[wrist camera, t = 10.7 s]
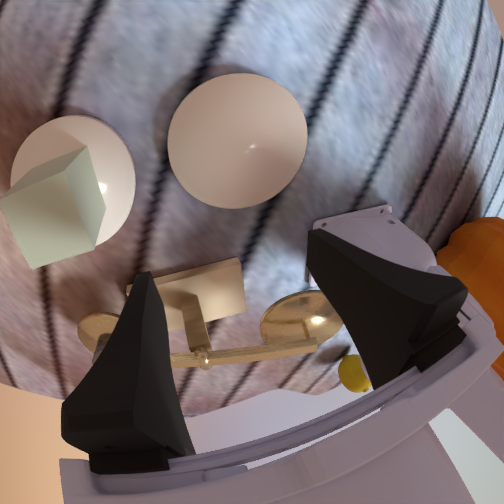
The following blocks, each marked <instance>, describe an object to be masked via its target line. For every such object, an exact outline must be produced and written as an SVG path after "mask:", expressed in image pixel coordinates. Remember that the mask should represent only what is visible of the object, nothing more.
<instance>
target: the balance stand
mask: <svg viewBox="0 0 504 504" xmlns="http://www.w3.org/2000/svg"><path fill="white" fill-rule="evenodd" d="M153 280H154V282H155V285H156V287H157V289H158V292H159V294H160V297H161V299H162V301H163V304H164V309H165V314H166V319H167V326H168V331H172V330H176V329H180V328H184V327H185V331H186V336H187V341H188V345H189V349H190V351H191V352H195V350H196V349H197V348H199V347H204V348H206V349H207V351H213V350H212V347H211V343H210V340H209V336H208V332H207V329H206V325H205V322H208V321H211V320H215V319H219V318H223V317H226V316H230V315H233V314H237V313H240V312H244V311H247V306H246V299H245V291H244V284H243V276H242V269H241V263H240V261H239V259H238V257H235V258H232V259H228V260H224V261H220V262H216V263H212V264H208V265H204V266H200V267H197V268H193V269H189V270H185V271H181V272H177V273H173V274H169V275H165V276H161V277H158V278H154V279H153ZM132 285H133V284H130V285H127V289H126V294H127V296H128V295H129V293H130V290H131V287H132Z"/></svg>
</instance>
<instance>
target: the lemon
mask: <svg viewBox="0 0 504 504" xmlns="http://www.w3.org/2000/svg"><path fill="white" fill-rule="evenodd" d="M338 374H339V378H340V380H341V382H342V384H343V385H344V386H345V387H346V388H347V389H348V390H350V391H352V392H357V393H358V392H367V391H368V390H369V387H370V386H371V382H370V381H369V380H368V378H367V377H366V375H365V373H364V371H363V369H362V366H361V362H360V355H344V356H343V360H342V361H341V362H340V364H339V367H338Z"/></svg>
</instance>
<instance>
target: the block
mask: <svg viewBox="0 0 504 504" xmlns="http://www.w3.org/2000/svg"><path fill="white" fill-rule="evenodd" d="M0 208H1V210H2V212H3V215H4V217H5V219H6V222H7V224H8V226H9V228H10V230H11V232H12V234H13V236H14V238H15V240H16V242H17V244H18V246H19V248H20V250H21V252H22V254H23V256H24V257H25V259H26V261H27V263H28V265H29V266H30V268H31V269H34V268H37V267H40V266H44V265H47V264H50V263H53V262H56V261H59V260H62V259H66V258H69V257H72V256H75V255H79V254H82V253H85V252H89V251H92V250H94V249H95V245H96V241H97V238H98V234H99V231H100V227H101V224H102V221H103V217H104V214H105V211H106V205H105V202H104V199H103V196H102V193H101V190H100V187H99V184H98V181H97V178H96V174H95V171H94V168H93V164H92V161H91V157H90V153H89V150H88V146H86V147H83V148H80V149H78V150H75V151H72V152H70V153H67V154H65V155H62V156H60V157H57V158H55V159H52V160H50V161H48V162H45V163H43V164H41V165H39V166H36V167H34V168H32V169H30V170H29V171H28V172H27V173H26V174H25V175H24V176H23V177H22V178H21V179H19V180H18V181H17V182H16V183H15V184H14V185H13V186H12V187H11V188H10V189H9V190H8V191H7V192H6V193H5V194H4V195H3V196H2V197H1V198H0Z"/></svg>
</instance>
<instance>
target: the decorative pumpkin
mask: <svg viewBox="0 0 504 504" xmlns="http://www.w3.org/2000/svg"><path fill="white" fill-rule="evenodd" d="M436 262H437V265H439V266H441V267H442V268H443V269H445V270H446V271H447V272H448V273H449V274H450V275H451V276H453V277H457V278H458V279H459V280H460V281H461V282H462V283H463V284H464V285H465V286H466V287H467V288H468V292H469V293H470V294H471V295H472V296H473V297H474V298H475V299H476V301H477V302H478V303H479V304H480V305H481V306H482V308H483V310H484V311H485V312H486V313H487V314H488V316H489V317H490V318H491V320H492V321H493V323H494V329H495V331H496V337H497V338H498V340H499V341H500V342H501V343H502V345H503V346H504V220H503V219H501V218H499V217H483V218H477V219H475V220H474V221H472V222H470V223H465V224H463V225H462V226H460V227H458V228H457V229H456V230H455V231H454V232H452V233H451V236H450V239H449V242H448V245H447V246H445V247H443V248H442V249H440V250H438V251H437V256H436ZM490 366H491V367H492V368H493V369H494V371H495V372H496V373H497V374H498V375H499V376H500V377H501V379H502V380H503V381H504V351H503V352H502V353H501V354H500V355H499V357H498V358H497V359H496V360H495V361H494V362H493V363H492V364H491V365H490Z"/></svg>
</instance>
